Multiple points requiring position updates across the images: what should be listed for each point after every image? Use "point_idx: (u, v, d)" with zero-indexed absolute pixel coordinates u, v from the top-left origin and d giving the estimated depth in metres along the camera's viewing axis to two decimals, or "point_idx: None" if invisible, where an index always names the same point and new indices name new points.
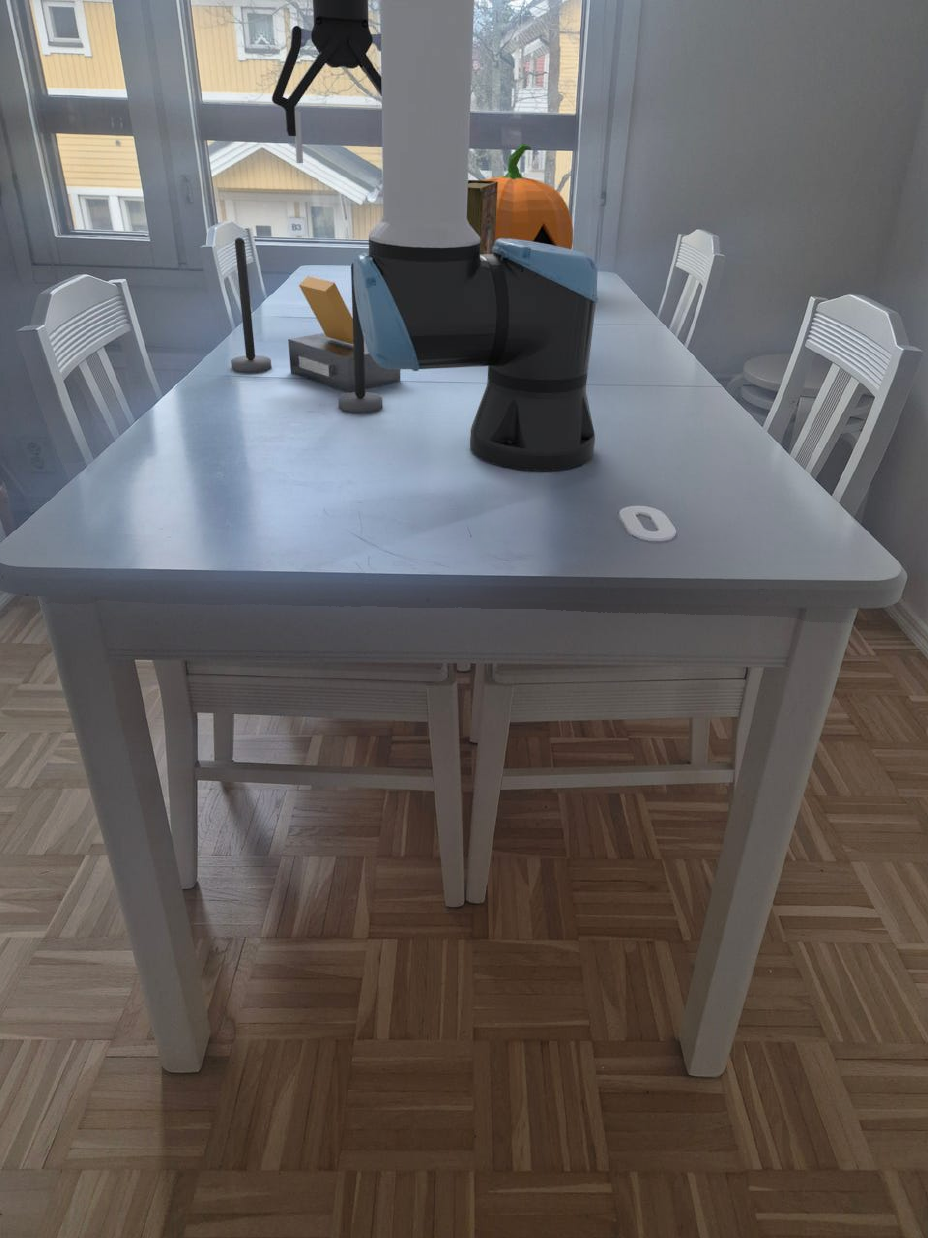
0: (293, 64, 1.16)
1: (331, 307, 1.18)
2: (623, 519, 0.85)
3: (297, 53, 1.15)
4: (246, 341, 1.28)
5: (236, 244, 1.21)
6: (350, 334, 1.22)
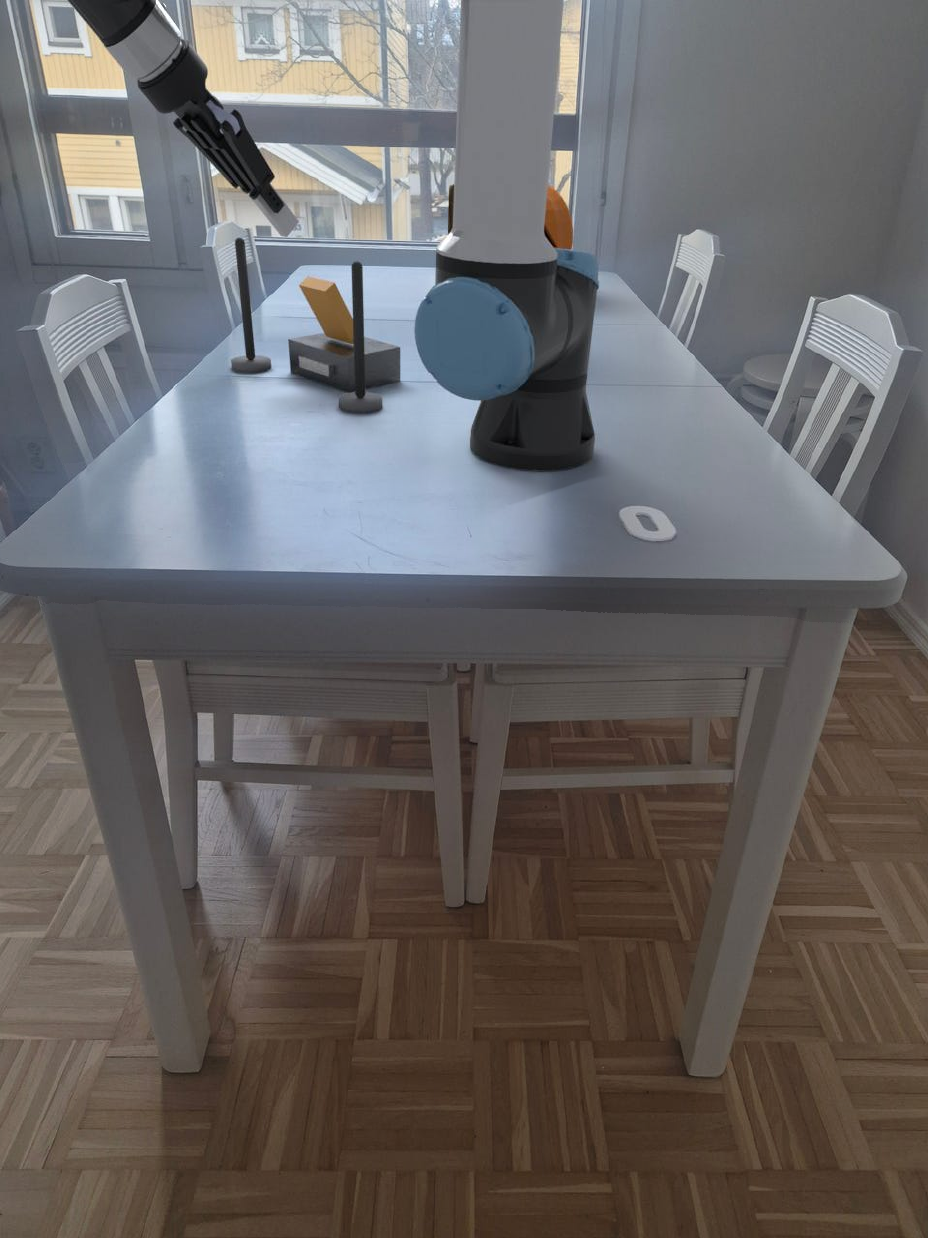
0: (204, 151, 1.04)
1: (331, 307, 1.18)
2: (623, 519, 0.85)
3: (195, 141, 1.03)
4: (246, 341, 1.28)
5: (236, 244, 1.21)
6: (350, 334, 1.22)
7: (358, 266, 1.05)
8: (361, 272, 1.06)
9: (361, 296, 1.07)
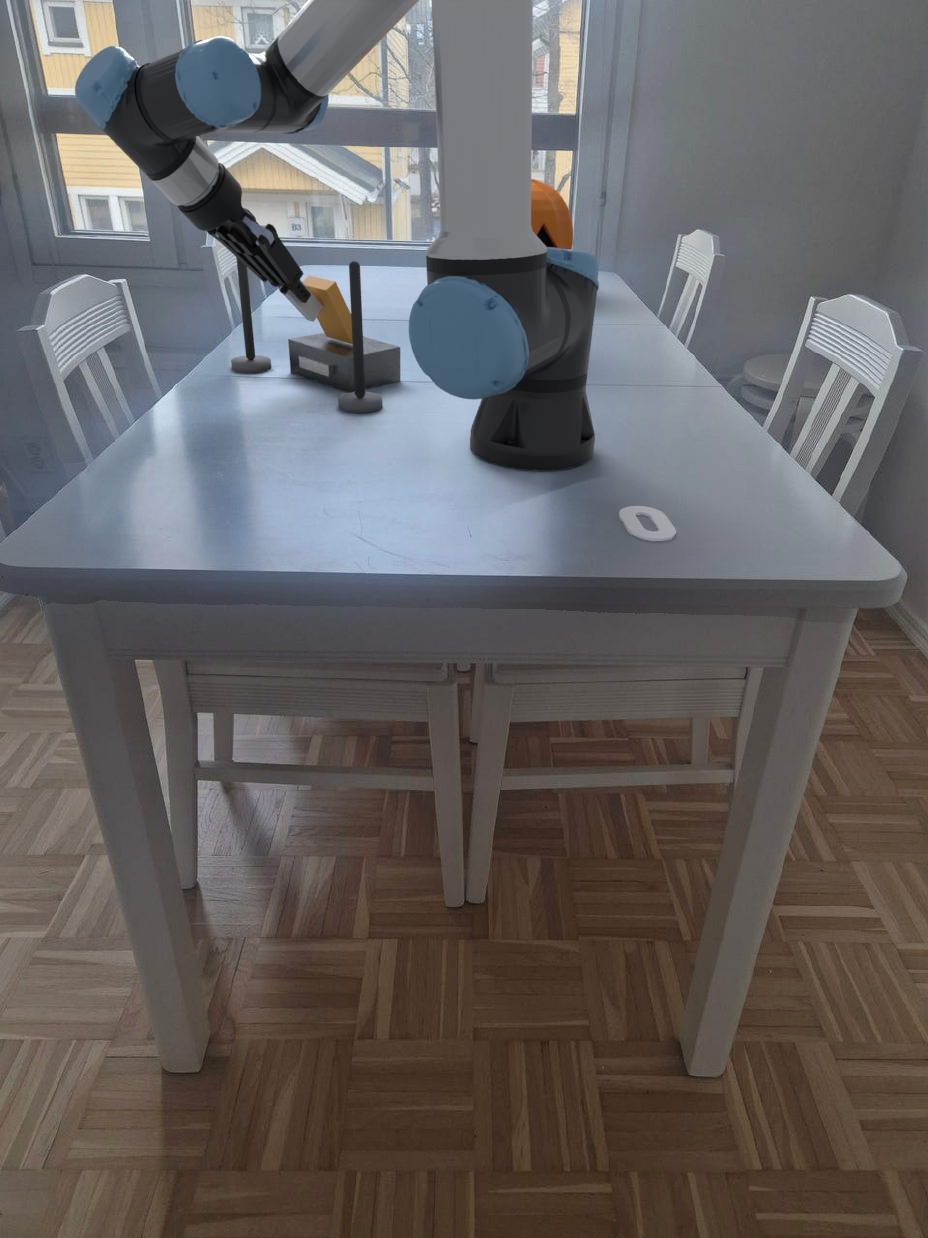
0: (235, 253, 1.11)
1: (331, 307, 1.18)
2: (623, 519, 0.85)
3: (227, 245, 1.10)
4: (246, 341, 1.28)
5: None
6: (350, 334, 1.22)
7: (356, 266, 1.05)
8: (359, 272, 1.06)
9: (359, 296, 1.07)
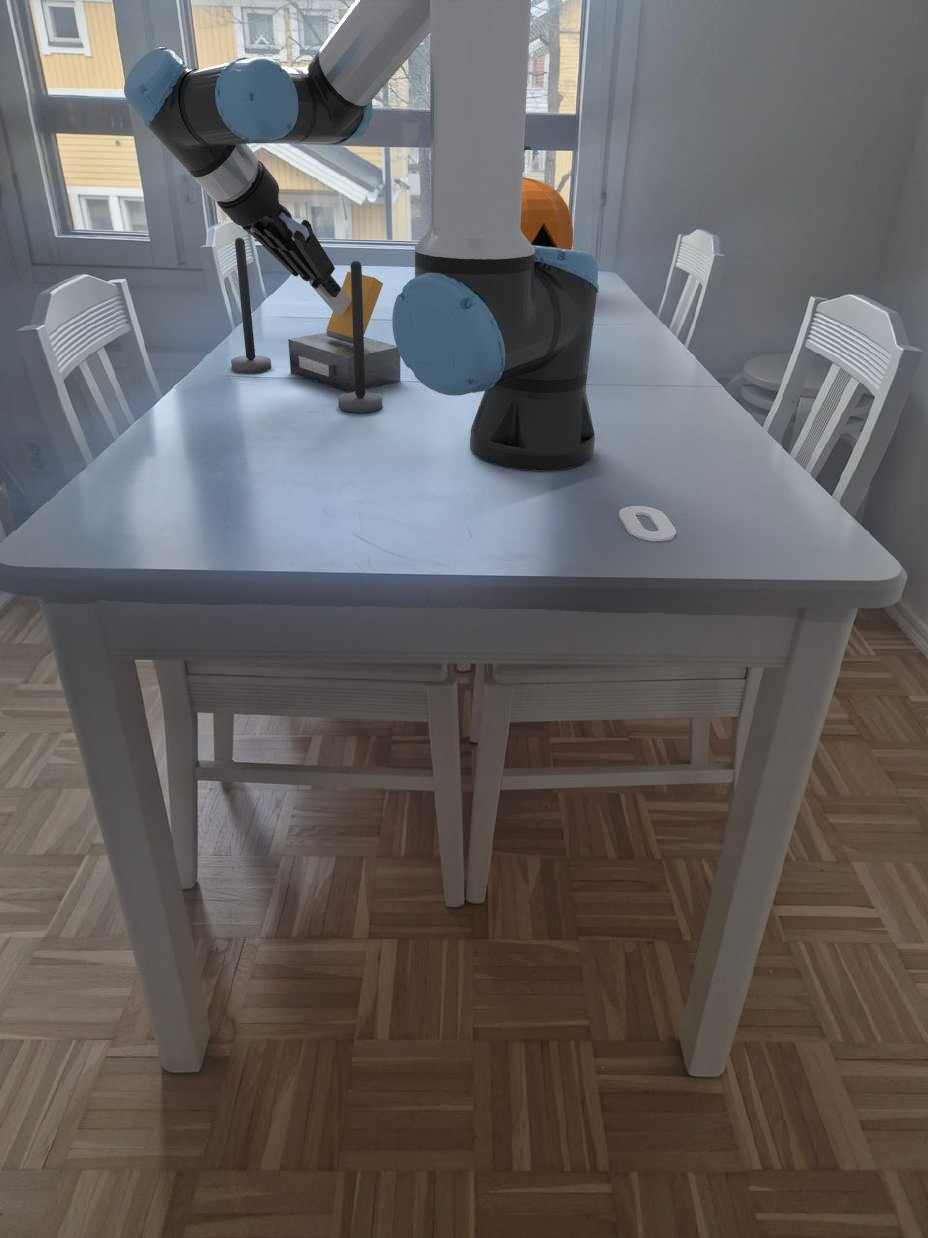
0: (269, 248, 1.15)
1: (364, 295, 1.22)
2: (623, 519, 0.85)
3: (261, 240, 1.14)
4: (246, 341, 1.28)
5: (236, 244, 1.21)
6: None
7: (357, 265, 1.06)
8: (360, 271, 1.06)
9: (360, 295, 1.07)
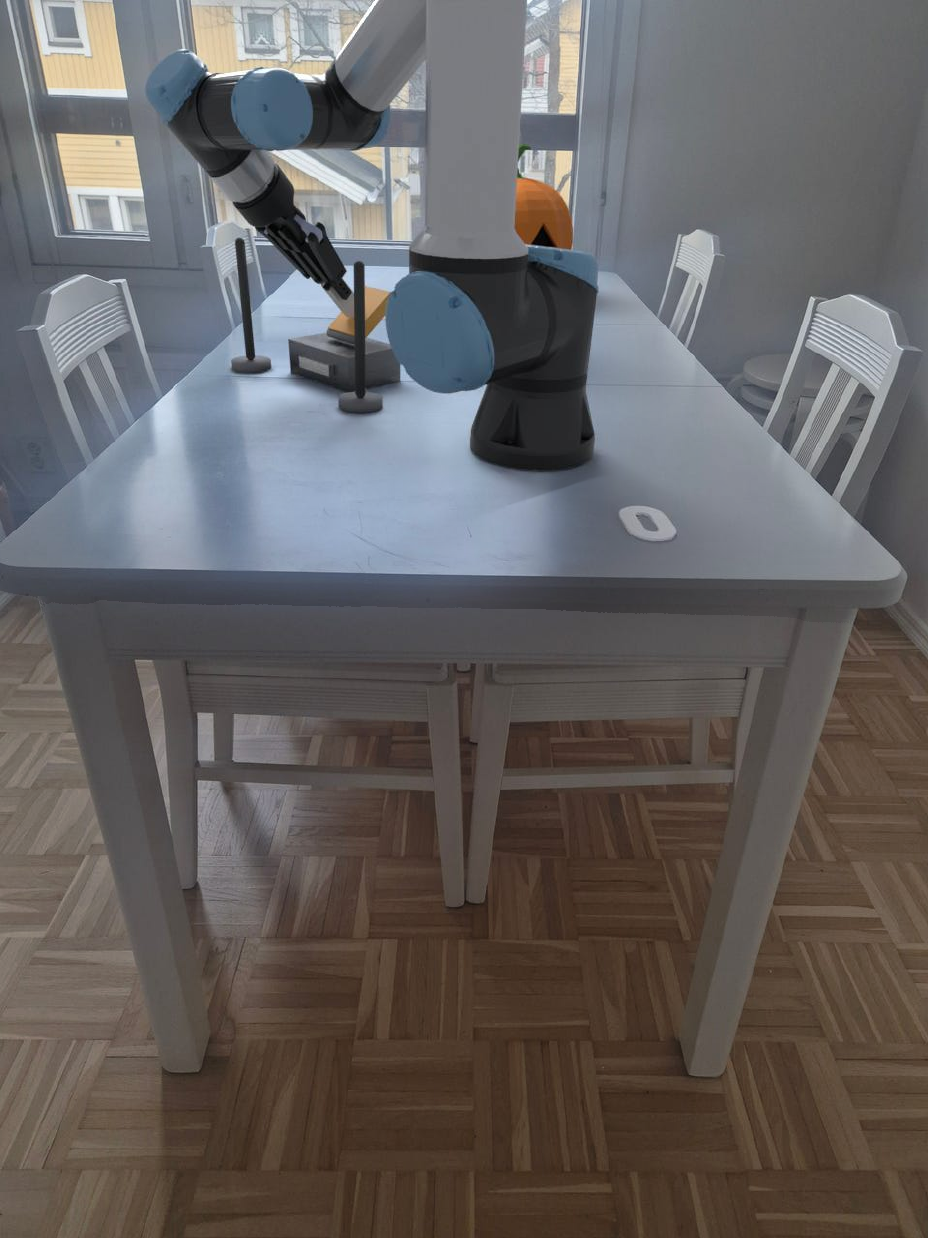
0: (282, 250, 1.16)
1: (376, 304, 1.24)
2: (623, 519, 0.85)
3: (274, 242, 1.15)
4: (246, 341, 1.28)
5: (236, 244, 1.21)
6: None
7: (360, 266, 1.05)
8: (363, 272, 1.06)
9: (363, 296, 1.07)
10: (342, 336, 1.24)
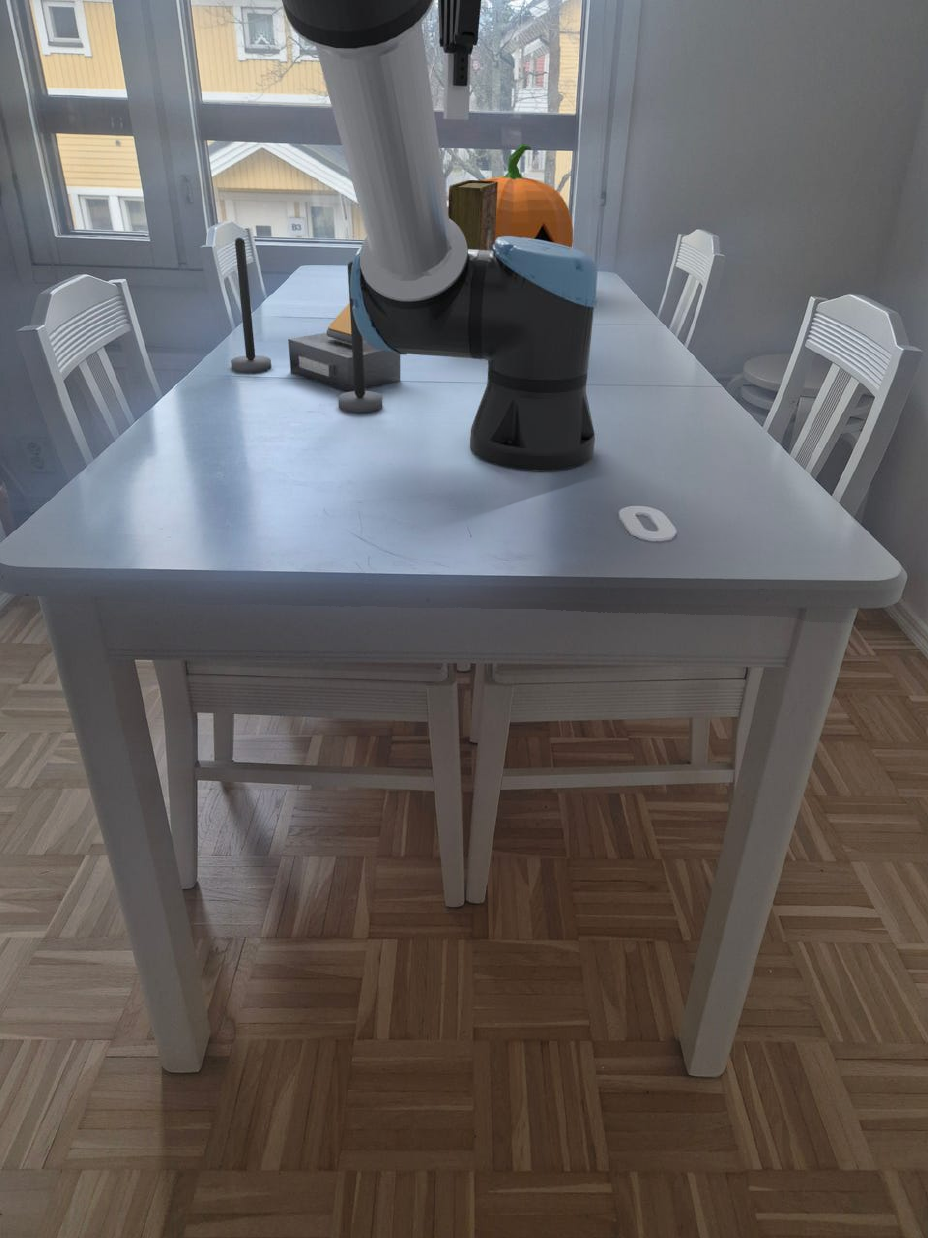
0: None
1: None
2: (623, 519, 0.85)
3: None
4: (246, 341, 1.28)
5: (236, 244, 1.21)
6: None
7: None
8: None
9: None
10: (342, 336, 1.24)
